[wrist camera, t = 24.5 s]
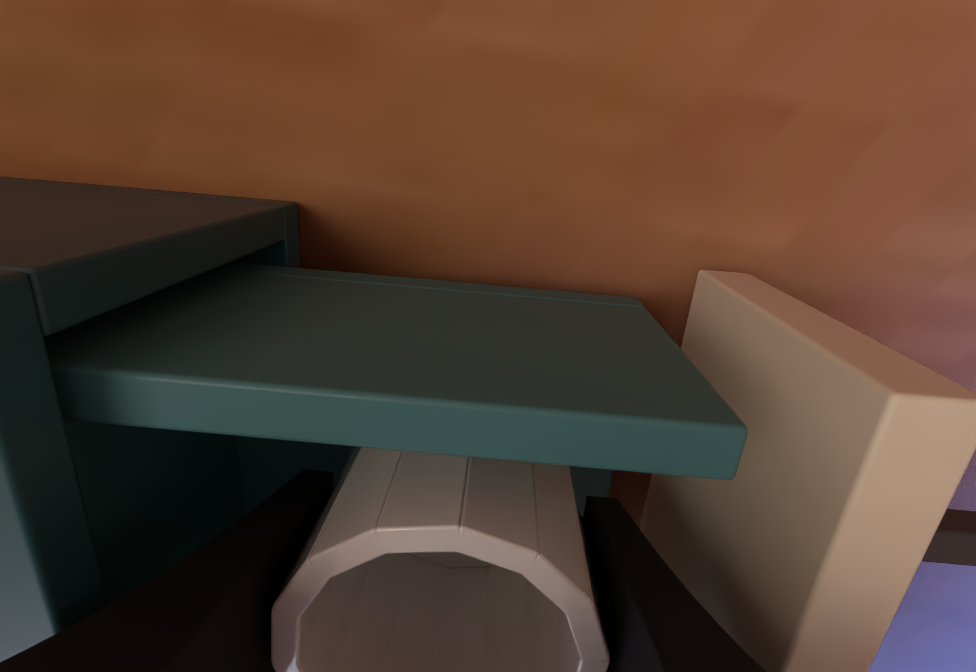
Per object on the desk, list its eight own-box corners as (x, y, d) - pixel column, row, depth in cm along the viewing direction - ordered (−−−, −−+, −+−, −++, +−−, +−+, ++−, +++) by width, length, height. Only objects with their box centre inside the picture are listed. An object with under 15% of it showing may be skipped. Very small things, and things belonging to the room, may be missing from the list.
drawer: (966, 291, 11) (1450, 443, 6) (823, 626, 15) (1025, 933, 9) (207, 226, 12) (-104, 305, 6) (247, 572, 15) (81, 840, 9)
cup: (619, 458, 11) (682, 637, 7) (489, 596, 13) (479, 809, 9) (430, 336, 11) (377, 460, 6) (316, 500, 12) (214, 686, 8)
